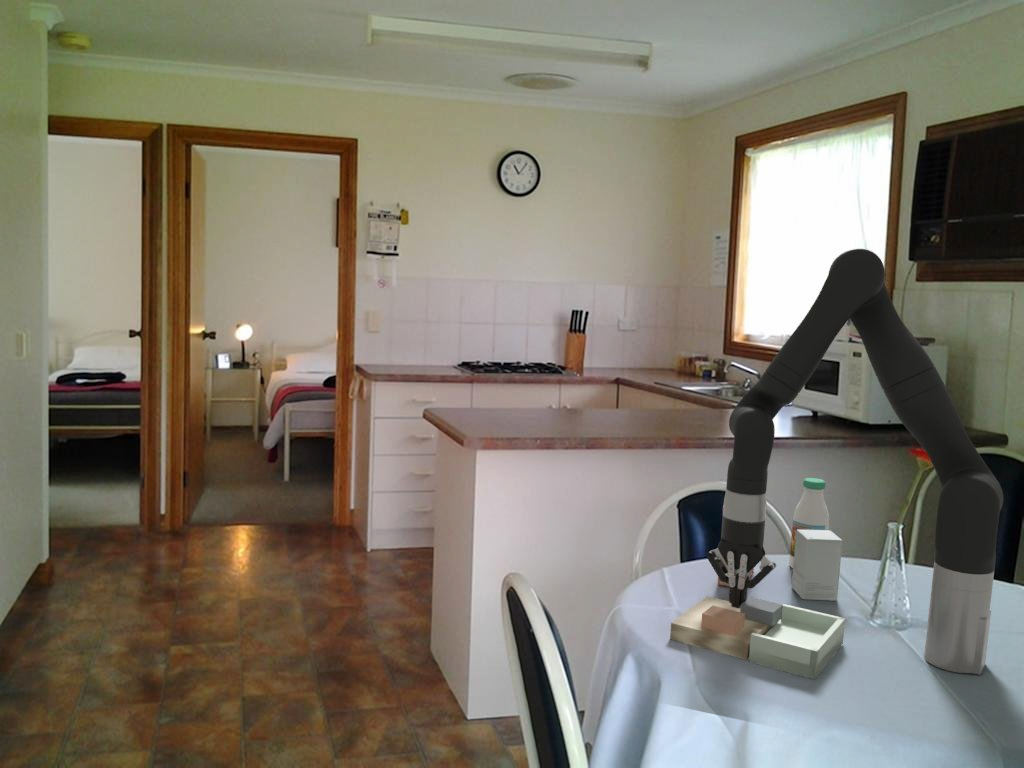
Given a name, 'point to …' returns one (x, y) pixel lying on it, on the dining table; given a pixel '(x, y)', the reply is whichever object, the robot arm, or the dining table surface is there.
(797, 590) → the supplement box
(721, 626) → the terracotta tile
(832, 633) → the box
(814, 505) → the milk bottle
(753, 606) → the slate tile
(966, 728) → the dining table surface
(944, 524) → the robot arm
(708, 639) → the plate
